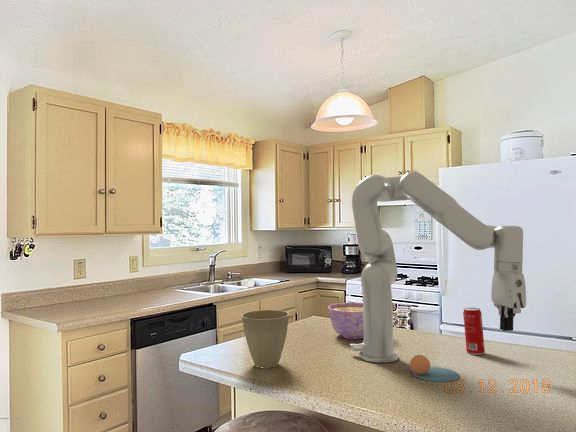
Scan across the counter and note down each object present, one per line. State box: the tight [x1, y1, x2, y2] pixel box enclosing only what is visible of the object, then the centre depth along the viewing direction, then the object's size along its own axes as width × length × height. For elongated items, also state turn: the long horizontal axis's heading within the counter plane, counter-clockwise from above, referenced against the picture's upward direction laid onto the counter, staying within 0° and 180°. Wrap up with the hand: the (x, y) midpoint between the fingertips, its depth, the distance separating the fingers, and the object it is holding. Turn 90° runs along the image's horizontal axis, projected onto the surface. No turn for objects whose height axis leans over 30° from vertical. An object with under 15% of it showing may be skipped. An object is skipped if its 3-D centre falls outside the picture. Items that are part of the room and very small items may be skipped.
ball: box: [409, 354, 431, 375], centre depth 132 cm, size 6×6×6 cm
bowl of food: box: [327, 302, 364, 340], centre depth 177 cm, size 20×20×12 cm
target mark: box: [411, 366, 460, 383], centre depth 132 cm, size 13×13×1 cm
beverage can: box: [462, 307, 486, 356], centre depth 153 cm, size 6×6×15 cm
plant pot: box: [241, 309, 290, 369], centre depth 143 cm, size 15×15×16 cm
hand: (506, 329), depth 133 cm, fingers closed
